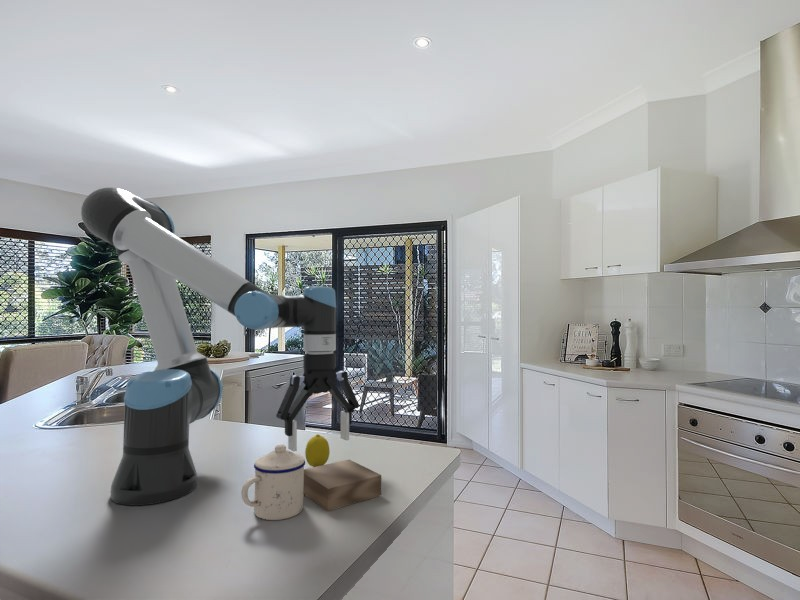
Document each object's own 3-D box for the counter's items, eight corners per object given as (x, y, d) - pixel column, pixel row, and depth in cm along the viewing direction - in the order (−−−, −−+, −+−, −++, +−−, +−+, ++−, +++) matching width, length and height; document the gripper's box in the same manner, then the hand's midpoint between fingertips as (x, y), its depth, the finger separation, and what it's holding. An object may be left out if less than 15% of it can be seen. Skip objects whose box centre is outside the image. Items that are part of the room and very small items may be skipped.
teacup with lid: (284, 496, 88) (286, 436, 88) (314, 509, 82) (316, 445, 82) (227, 516, 78) (229, 449, 79) (256, 533, 73) (258, 460, 73)
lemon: (326, 473, 100) (327, 437, 101) (302, 473, 100) (303, 437, 101) (331, 465, 106) (331, 431, 106) (307, 465, 106) (308, 431, 106)
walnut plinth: (327, 511, 81) (328, 488, 81) (298, 490, 91) (299, 470, 91) (381, 495, 89) (381, 475, 89) (348, 477, 98) (349, 459, 98)
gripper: (275, 356, 93) (274, 459, 93) (372, 350, 109) (372, 438, 108) (261, 354, 99) (261, 450, 99) (355, 349, 115) (356, 432, 114)
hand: (319, 444), depth 103 cm, fingers open, 13 cm apart
